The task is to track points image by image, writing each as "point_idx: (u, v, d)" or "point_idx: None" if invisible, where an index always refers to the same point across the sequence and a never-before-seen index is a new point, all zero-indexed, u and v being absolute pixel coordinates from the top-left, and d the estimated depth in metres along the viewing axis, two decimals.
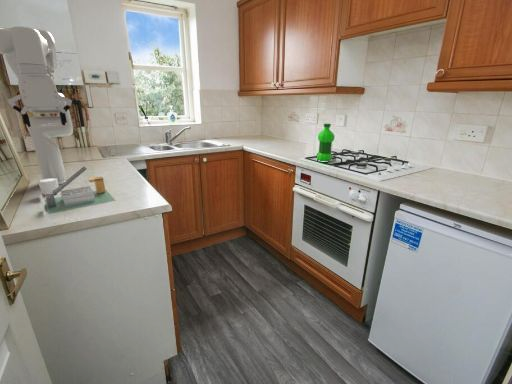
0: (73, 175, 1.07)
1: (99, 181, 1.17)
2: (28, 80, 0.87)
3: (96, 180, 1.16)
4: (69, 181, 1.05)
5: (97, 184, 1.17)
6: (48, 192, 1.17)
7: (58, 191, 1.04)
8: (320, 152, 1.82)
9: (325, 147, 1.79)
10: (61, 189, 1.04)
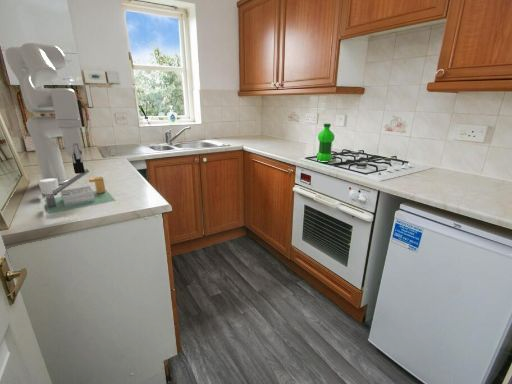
0: (75, 177, 1.08)
1: (99, 181, 1.17)
2: (79, 132, 1.03)
3: (96, 180, 1.16)
4: (70, 182, 1.06)
5: (97, 184, 1.17)
6: (48, 192, 1.17)
7: (58, 191, 1.04)
8: (320, 152, 1.82)
9: (325, 147, 1.79)
10: (61, 189, 1.05)
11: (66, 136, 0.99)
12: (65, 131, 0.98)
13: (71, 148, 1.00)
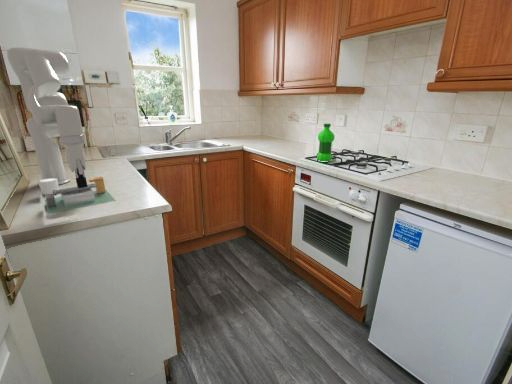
0: None
1: (99, 181, 1.17)
2: (82, 147, 1.04)
3: (96, 180, 1.16)
4: (75, 189, 1.07)
5: (97, 184, 1.17)
6: (48, 192, 1.17)
7: (59, 193, 1.04)
8: (320, 152, 1.82)
9: (325, 147, 1.79)
10: (63, 192, 1.05)
11: (69, 152, 1.00)
12: (68, 147, 1.00)
13: (74, 164, 1.02)
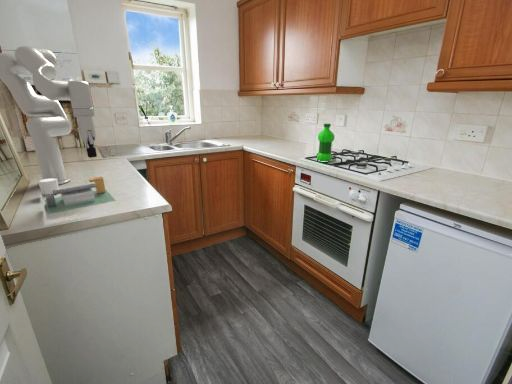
0: (81, 186, 1.10)
1: (99, 181, 1.17)
2: (92, 120, 1.15)
3: (96, 180, 1.16)
4: (75, 189, 1.07)
5: (97, 184, 1.17)
6: (48, 192, 1.17)
7: (59, 193, 1.04)
8: (320, 152, 1.82)
9: (325, 147, 1.79)
10: (63, 192, 1.05)
11: (81, 123, 1.11)
12: (80, 119, 1.11)
13: (85, 134, 1.13)
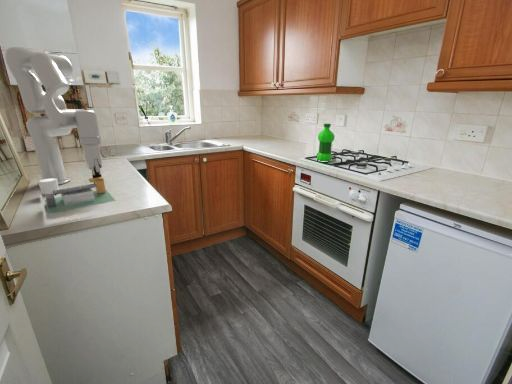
0: (81, 186, 1.10)
1: (99, 181, 1.17)
2: None
3: (96, 180, 1.16)
4: (75, 189, 1.07)
5: (97, 184, 1.16)
6: (48, 192, 1.17)
7: (59, 193, 1.04)
8: (320, 152, 1.82)
9: (325, 147, 1.79)
10: (63, 192, 1.05)
11: (88, 152, 1.12)
12: (87, 148, 1.12)
13: (92, 163, 1.13)
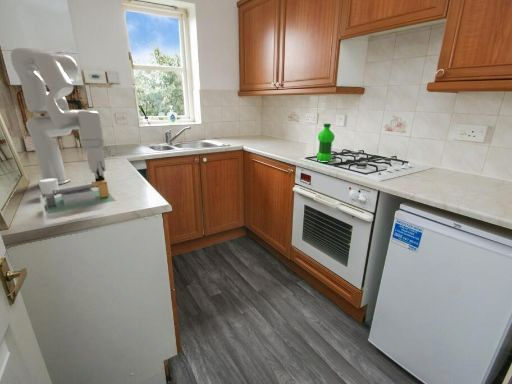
0: (81, 186, 1.10)
1: (102, 185, 1.12)
2: (102, 150, 1.11)
3: (99, 184, 1.11)
4: (75, 189, 1.07)
5: (100, 188, 1.12)
6: (48, 192, 1.17)
7: (59, 193, 1.04)
8: (320, 152, 1.82)
9: (325, 147, 1.79)
10: (63, 192, 1.05)
11: (91, 155, 1.07)
12: (90, 150, 1.07)
13: (95, 165, 1.09)
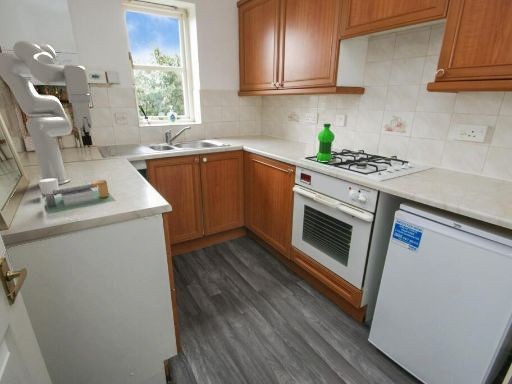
0: (81, 186, 1.10)
1: (102, 185, 1.12)
2: (88, 107, 1.11)
3: (99, 184, 1.11)
4: (75, 189, 1.07)
5: (100, 188, 1.12)
6: (48, 192, 1.17)
7: (59, 193, 1.04)
8: (320, 152, 1.82)
9: (325, 147, 1.79)
10: (63, 192, 1.05)
11: (77, 110, 1.07)
12: (76, 105, 1.07)
13: (81, 121, 1.09)
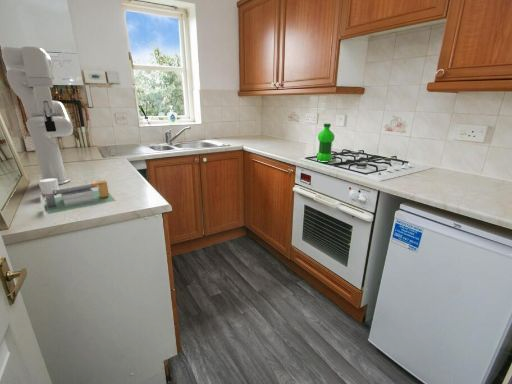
0: (81, 186, 1.10)
1: (102, 185, 1.12)
2: (50, 91, 1.08)
3: (99, 184, 1.11)
4: (75, 189, 1.07)
5: (100, 188, 1.12)
6: (48, 192, 1.17)
7: (59, 193, 1.04)
8: (320, 152, 1.82)
9: (325, 147, 1.79)
10: (63, 192, 1.05)
11: (36, 93, 1.04)
12: (35, 88, 1.03)
13: (41, 105, 1.05)
